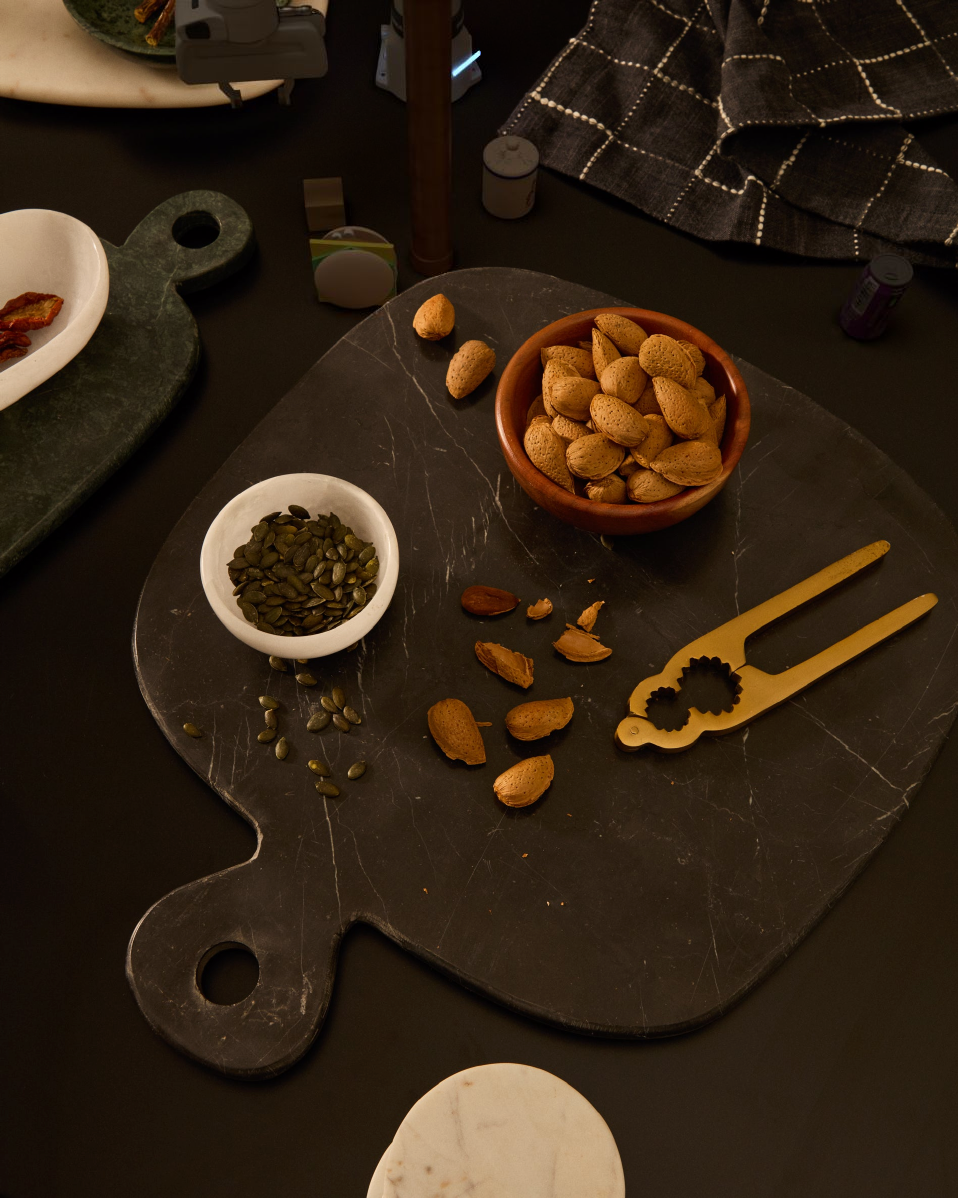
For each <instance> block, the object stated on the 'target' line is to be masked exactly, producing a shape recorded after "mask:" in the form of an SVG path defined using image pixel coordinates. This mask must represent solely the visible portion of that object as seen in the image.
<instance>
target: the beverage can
mask: <svg viewBox="0 0 958 1198" xmlns="http://www.w3.org/2000/svg"><path fill="white" fill-rule="evenodd" d="M913 275H914V268H913V266H912V264H911V263H910V262H909V260H907V259H906V258H905V257H903V256H902V255H900V254H897V253H894V252H881V253H879V254H877V255H875V256H874V257H873V258H872V259H871V261H870V262H868V263H867V264H866V265H865V266H864V267H863V269H862V271H861V272H860V274H859V277H858V278H857V281H856V283H855V284H854V285H853V288H852V290H851V291H850V294H849V296H848V297H847V300H846V302H845V304H844V305H843V307H842V309H841V311H840V312H839V319H838V321H839V324H840V326H841V328H842V329H843V330H844V332H845V333H847V334H848V335H850V336H852V337H853V338H856V339H859V340H866V341H867V340H873V339H877V338H878V337H880V336H882V334H883V333H884V331H885V329H886V328H887V326H888V324H889V323H890V321H891V320H892V318H893V317H894V314H895V313H896V311H897V309H898V308H899V307H900V304H901V303H902V301H903V299H904V298H905V296H906V295H907V293H908V291H909V289H910V288H911V283H912V277H913Z"/></svg>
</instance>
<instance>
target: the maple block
mask: <svg viewBox="0 0 958 1198" xmlns="http://www.w3.org/2000/svg"><path fill="white" fill-rule="evenodd" d="M302 181H303V196H304V208H305V215H306V221H307V227H308V232H319V231H333V230H335V229H338V228H341V227H347V218H346V209H345V199H344V190H343V183H342V177H340V176H338V177H337V176H335V177H324V178H307V179H303V180H302Z"/></svg>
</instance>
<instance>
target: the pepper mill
mask: <svg viewBox="0 0 958 1198" xmlns="http://www.w3.org/2000/svg"><path fill="white" fill-rule="evenodd" d="M402 9H403V33H404V57H405V80H406V102H405V104H406V124H407V125H406V126H407V128H406V129H407V147H408V148H407V149H408V172H409V175H408V176H409V194H410V195H409V196H410V197H409V198H410V218H411V221H410V223H411V241H410V242H409V254H410V255H409V256H410V257H409V258H410V265H411V266H412V268H413V269H414V270H415V272H418V274H421V275H424V276H427V277H436V275H437V276H440V275H439V274H441V273H443V274H445V273H447V272H448V271H449V270H450V269H451V268H452V266H453V264H454V243H453V240H452V105H453V104H452V103H453V102H452V0H402ZM444 272H445V273H444ZM441 275H442V274H441Z"/></svg>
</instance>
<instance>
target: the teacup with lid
mask: <svg viewBox="0 0 958 1198" xmlns="http://www.w3.org/2000/svg"><path fill="white" fill-rule="evenodd" d="M481 160H482V164H483V165H482V166H483V167H482V168H483V169H482V190H481V193H482V194H481V201H482V202H481V203H482V205H483V207H484V208H485V210H486V211H487V212H488V213H489V214H491V215H492V216H494V217H496V218H500V219H505V220H515V219H519V218H521V217H524V216H526V215H527V214H529V212H530V211H531V210H532V209H533V207H534V204H535V196H536V189H537V179H538V178H537V177H538V168H539V167H540V162H541V156H540V154H539V150H538V149H537V147H536V146H535V145H534V143H532V142H531V141H529V139H527V138H524V137H521V136H518V135H517V136H516V135H504V136H503V135H502V136H499V137H497V138H494V139H492V140H491V141H490V142H489V143H488V144H487V145H485V147H484V149H483V151H482V155H481Z"/></svg>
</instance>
